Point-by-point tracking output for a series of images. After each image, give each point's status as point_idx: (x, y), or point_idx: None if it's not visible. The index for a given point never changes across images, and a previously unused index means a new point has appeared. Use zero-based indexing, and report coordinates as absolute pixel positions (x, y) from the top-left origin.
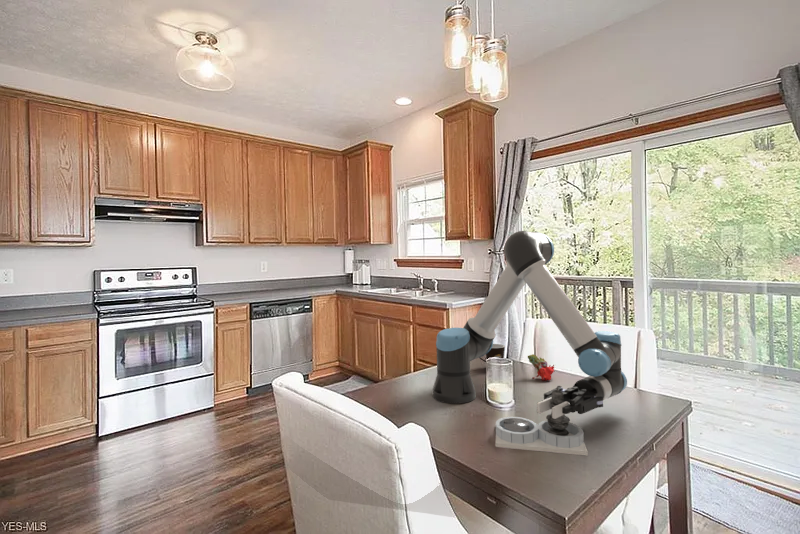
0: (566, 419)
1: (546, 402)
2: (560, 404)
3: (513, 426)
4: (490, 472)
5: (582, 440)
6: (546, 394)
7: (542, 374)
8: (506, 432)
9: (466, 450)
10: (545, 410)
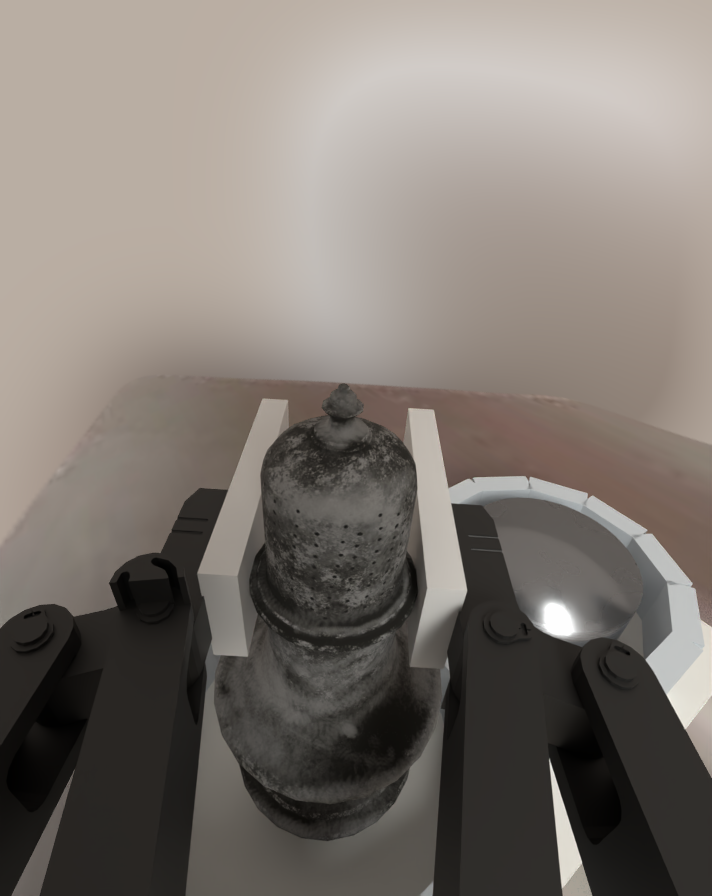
0: (241, 672)
1: None
2: (255, 471)
3: (515, 511)
4: (373, 395)
5: None
6: (599, 658)
7: None
8: (497, 480)
9: (524, 429)
10: None
